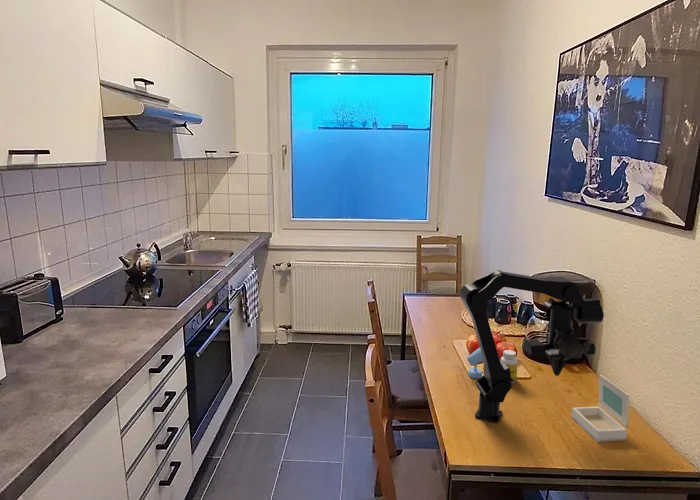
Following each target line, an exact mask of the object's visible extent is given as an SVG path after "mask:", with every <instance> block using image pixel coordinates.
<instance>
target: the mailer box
mask: <svg viewBox="0 0 700 500" xmlns="http://www.w3.org/2000/svg"><path fill="white" fill-rule="evenodd" d="M571 418H572V420H573V421H575V423H577V424H578V425H579V426H580V427H581V428H582V429H583V430H584V431H585V433H586V434H588V435H589V436H590V437H591V438H592V439H594V441H595V442H596V443H597V442H598V443H600V442H601V443H602V442H616V441H617V442H618V441H626V440H627V433H628V428H626V427H625V426H624V425H623V424H621V423H620V422H619V421H618V420H617V419H615V418H614V417H613V416H612V415H611V414H609V413H608V412H607V411H606V410H605V409H603V408H602V407H601V406H600V405H599V406H582V407H581V406H579V407H572V408H571Z"/></svg>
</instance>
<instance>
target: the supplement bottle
mask: <svg viewBox="0 0 700 500" xmlns="http://www.w3.org/2000/svg"><path fill="white" fill-rule="evenodd" d="M502 355H503V356H501V358H500V360H503V362H504V363H505V364H506V365H507V366H508V367H509V369H510V374H511V378H512V380H513V382H511V383H512V384H514V383H515V382H516V381H517V375H518V362H519V361H518V359H517V353H516V351H514V350H512V349H505V350H503V352H502Z"/></svg>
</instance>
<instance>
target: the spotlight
mask: <svg viewBox="0 0 700 500" xmlns="http://www.w3.org/2000/svg"><path fill="white" fill-rule="evenodd" d="M466 360H467V362H468V363H469V365H470V366H473V365H474V367H471V368H469V369H468V377H469V378H471V379H480V378H481V377H482V376H483V370H482V369H480V368H478V367H477V366H478V365H477V364H480V363H484V359H483V355H482V352H481V348H480V346H479V347H478V348H477V349H475V350H474V351H473V352H472V353H470V354H469V355H468V356H467V357H466Z"/></svg>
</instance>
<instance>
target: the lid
mask: <svg viewBox="0 0 700 500" xmlns="http://www.w3.org/2000/svg"><path fill="white" fill-rule="evenodd" d="M598 375H599V376H598V377H599V378H598V380H599V381H598V405H599V407H600V408H602V409H603V410H604V411H605V412H606V413H608V414H609V415H610V416H611V417H612V418H614V419H615V420H616V421H617V422H618V423H619V424H621V425H622V426H623V427H624V428H625V429H628V428H629V409H630V408H629V407H630V406H629V404H630V394H629V393H627V392H626V391H624V390H623V389H622V388H620V387H619V386H617V385H616V384H614V383H613V382H612V381H610V380H609V379H608V378H606V377H605V376H604V375H603V374H598Z"/></svg>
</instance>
